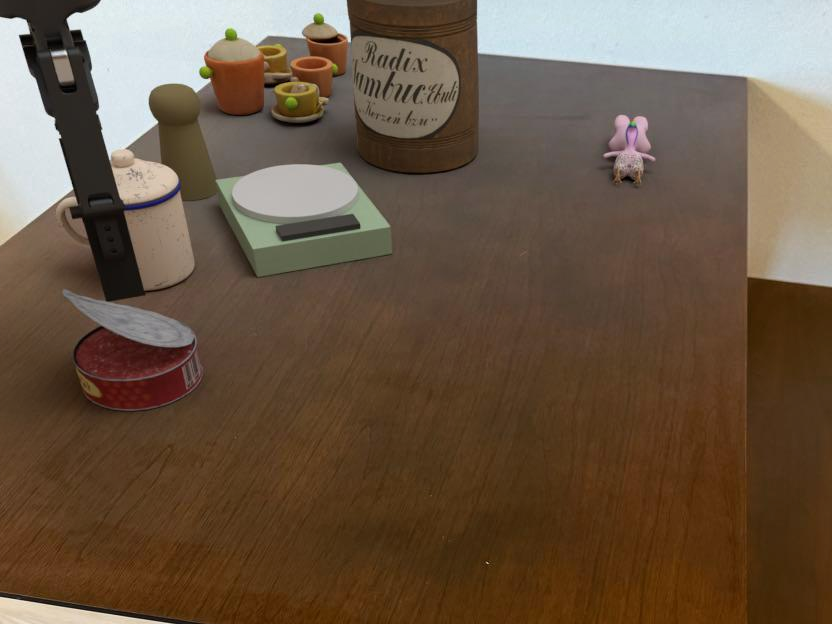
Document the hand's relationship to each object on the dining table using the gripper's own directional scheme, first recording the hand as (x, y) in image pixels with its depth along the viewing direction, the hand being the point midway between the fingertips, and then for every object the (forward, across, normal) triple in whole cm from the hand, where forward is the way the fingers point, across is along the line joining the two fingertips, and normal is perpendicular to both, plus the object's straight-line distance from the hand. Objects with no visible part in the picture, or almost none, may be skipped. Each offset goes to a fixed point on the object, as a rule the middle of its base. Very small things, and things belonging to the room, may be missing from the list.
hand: (112, 255), depth 74 cm
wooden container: (+11, +38, -39) cm, 56 cm away
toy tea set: (+11, +63, -29) cm, 70 cm away
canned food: (+11, 0, 0) cm, 11 cm away
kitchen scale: (+11, +22, -20) cm, 32 cm away
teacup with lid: (+11, +19, -2) cm, 22 cm away
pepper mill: (+11, +36, -11) cm, 39 cm away
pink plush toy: (+11, +26, -62) cm, 68 cm away
